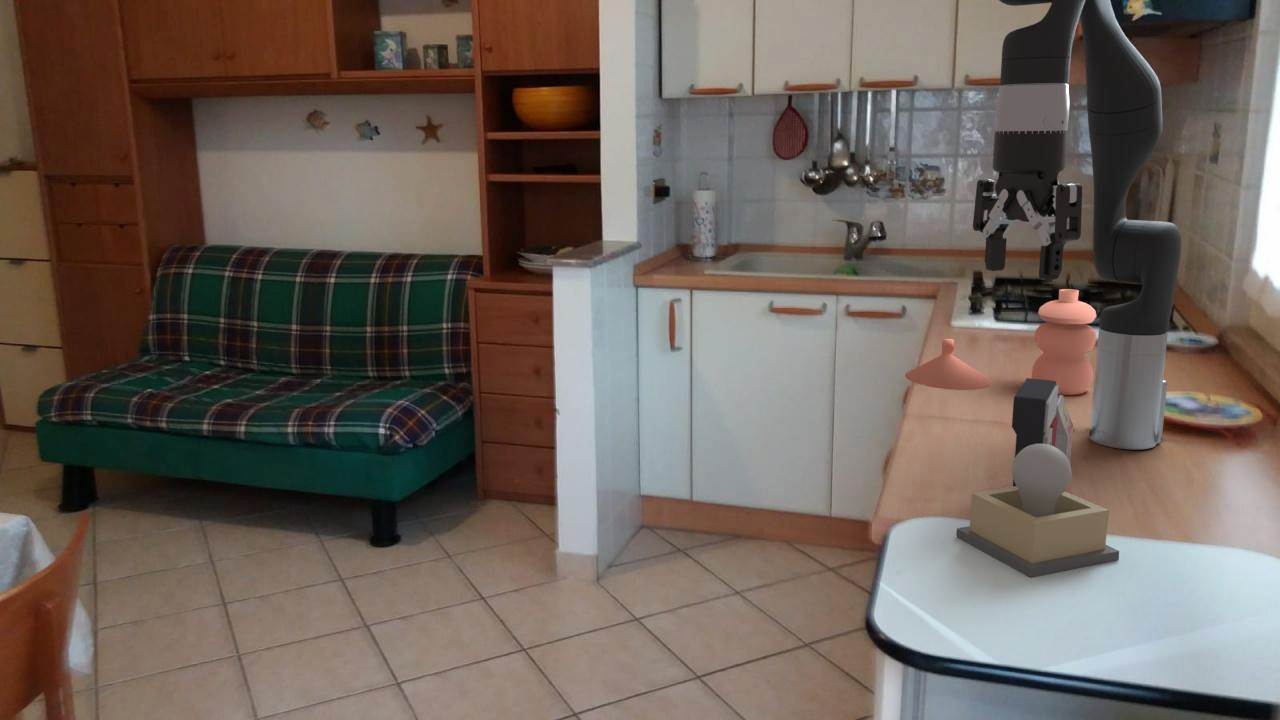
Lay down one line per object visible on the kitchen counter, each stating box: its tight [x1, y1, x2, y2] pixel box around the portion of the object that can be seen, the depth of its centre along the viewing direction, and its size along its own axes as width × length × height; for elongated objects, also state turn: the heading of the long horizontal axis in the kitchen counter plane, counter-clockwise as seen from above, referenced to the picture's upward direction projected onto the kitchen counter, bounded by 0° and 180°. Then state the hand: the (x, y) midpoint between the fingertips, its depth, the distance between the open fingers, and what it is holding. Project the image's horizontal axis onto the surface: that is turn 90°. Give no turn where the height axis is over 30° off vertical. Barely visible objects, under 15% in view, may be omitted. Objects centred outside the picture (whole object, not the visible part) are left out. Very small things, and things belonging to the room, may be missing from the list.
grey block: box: [1055, 394, 1074, 463], centre depth 139 cm, size 4×7×10 cm, turn 152°
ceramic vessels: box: [904, 288, 1098, 396], centre depth 182 cm, size 35×21×19 cm, turn 72°
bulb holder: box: [955, 485, 1120, 578], centre depth 114 cm, size 12×12×6 cm
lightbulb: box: [1011, 444, 1072, 518], centre depth 113 cm, size 6×6×11 cm
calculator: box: [1011, 377, 1059, 486], centre depth 126 cm, size 11×4×15 cm, turn 152°
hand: (1020, 274), depth 115 cm, fingers open, 8 cm apart
